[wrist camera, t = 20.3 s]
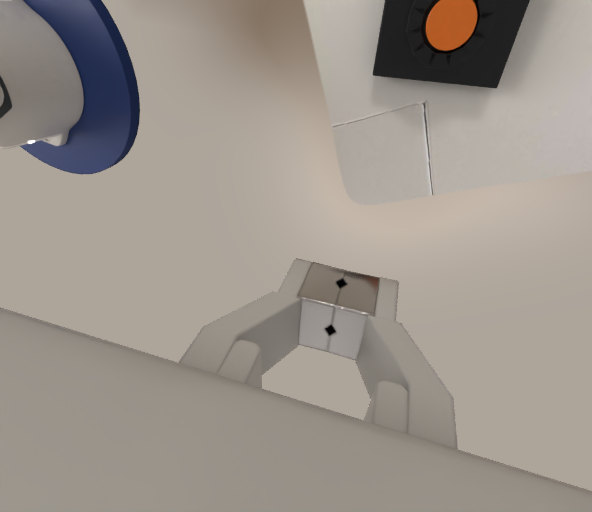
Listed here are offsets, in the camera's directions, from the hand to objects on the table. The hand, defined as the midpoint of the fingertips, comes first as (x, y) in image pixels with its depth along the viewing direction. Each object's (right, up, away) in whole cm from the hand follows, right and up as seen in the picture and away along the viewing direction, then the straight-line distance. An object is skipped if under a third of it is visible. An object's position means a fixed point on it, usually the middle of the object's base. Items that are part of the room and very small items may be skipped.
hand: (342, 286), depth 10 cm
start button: (+11, +20, +17) cm, 28 cm away
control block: (+12, +22, +20) cm, 32 cm away
